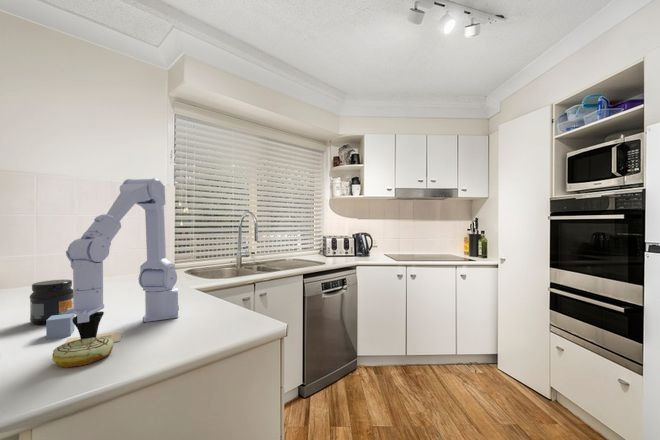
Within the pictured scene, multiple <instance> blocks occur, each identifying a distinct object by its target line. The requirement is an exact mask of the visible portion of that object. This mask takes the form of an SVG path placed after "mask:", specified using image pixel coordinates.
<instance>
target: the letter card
mask: <svg viewBox="0 0 660 440" xmlns="http://www.w3.org/2000/svg"><path fill="white" fill-rule="evenodd" d="M122 335H123V330H117V331H116V330H115V331H111V332H110V331H108V332H102V333H97V336H96V337H107V338H110V339H111V340H112V341H113V344H114V343H118V342H119V343H120V342H121V338H122ZM79 339H81V338H80V336H75V337H70V338H67V339H65V340H66V341H64V343H63V344H65V343H68V342H71V341H74V340H79Z"/></svg>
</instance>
